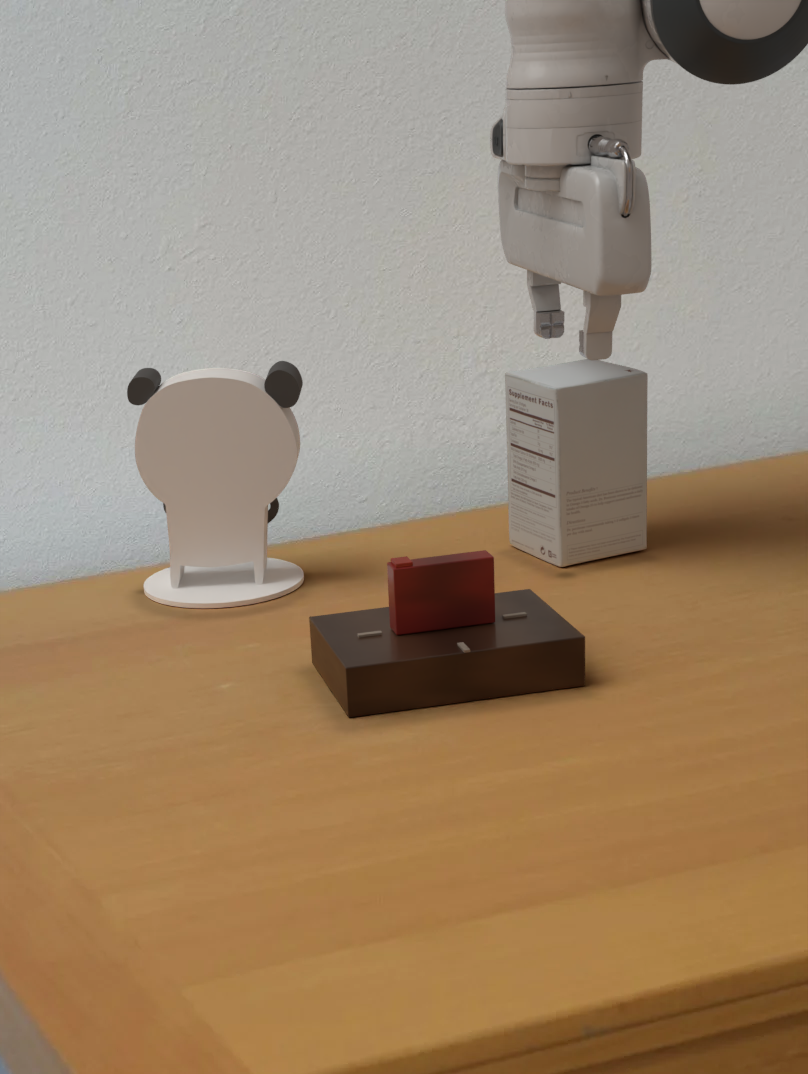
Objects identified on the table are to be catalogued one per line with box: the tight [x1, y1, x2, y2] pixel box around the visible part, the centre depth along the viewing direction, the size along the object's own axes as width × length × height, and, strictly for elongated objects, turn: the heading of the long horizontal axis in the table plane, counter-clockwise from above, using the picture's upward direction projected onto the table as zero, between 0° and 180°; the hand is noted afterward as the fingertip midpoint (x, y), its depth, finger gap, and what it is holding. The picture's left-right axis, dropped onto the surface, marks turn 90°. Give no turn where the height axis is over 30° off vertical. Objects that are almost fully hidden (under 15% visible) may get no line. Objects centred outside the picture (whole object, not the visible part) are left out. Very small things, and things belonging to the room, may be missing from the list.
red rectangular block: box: [386, 549, 496, 635], centre depth 106 cm, size 6×2×4 cm, turn 101°
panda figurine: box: [126, 360, 305, 609], centre depth 126 cm, size 12×11×15 cm
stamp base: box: [308, 588, 586, 718], centre depth 108 cm, size 14×10×3 cm
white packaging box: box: [504, 358, 649, 568], centre depth 128 cm, size 7×7×13 cm
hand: (571, 347), depth 125 cm, fingers open, 8 cm apart
